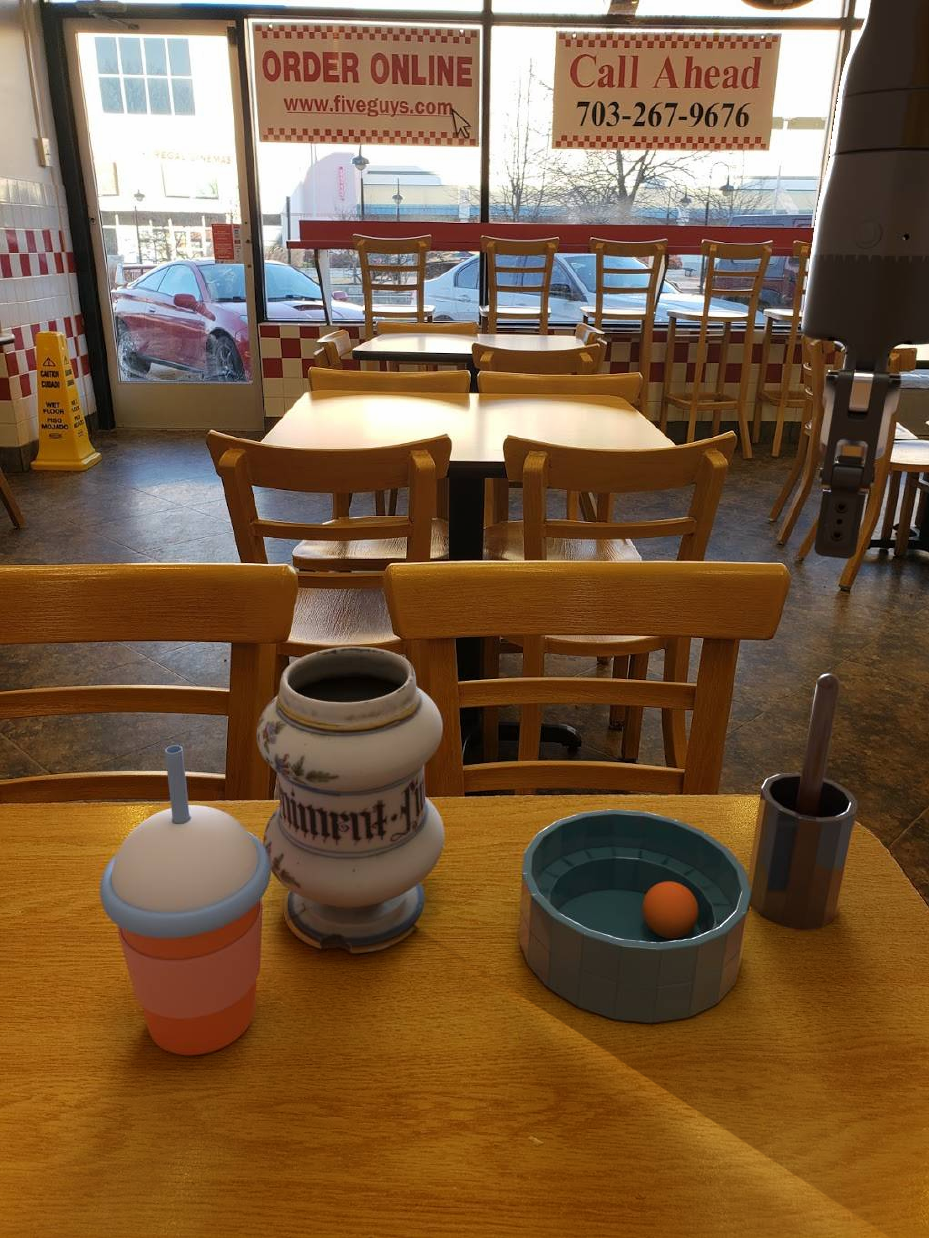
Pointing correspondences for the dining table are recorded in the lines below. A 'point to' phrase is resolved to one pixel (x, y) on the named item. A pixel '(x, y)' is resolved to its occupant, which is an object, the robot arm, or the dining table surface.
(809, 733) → the stirring stick
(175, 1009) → the cup with straw
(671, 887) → the ball
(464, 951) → the dining table surface
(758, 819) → the holder
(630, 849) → the bowl
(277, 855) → the apothecary jar
